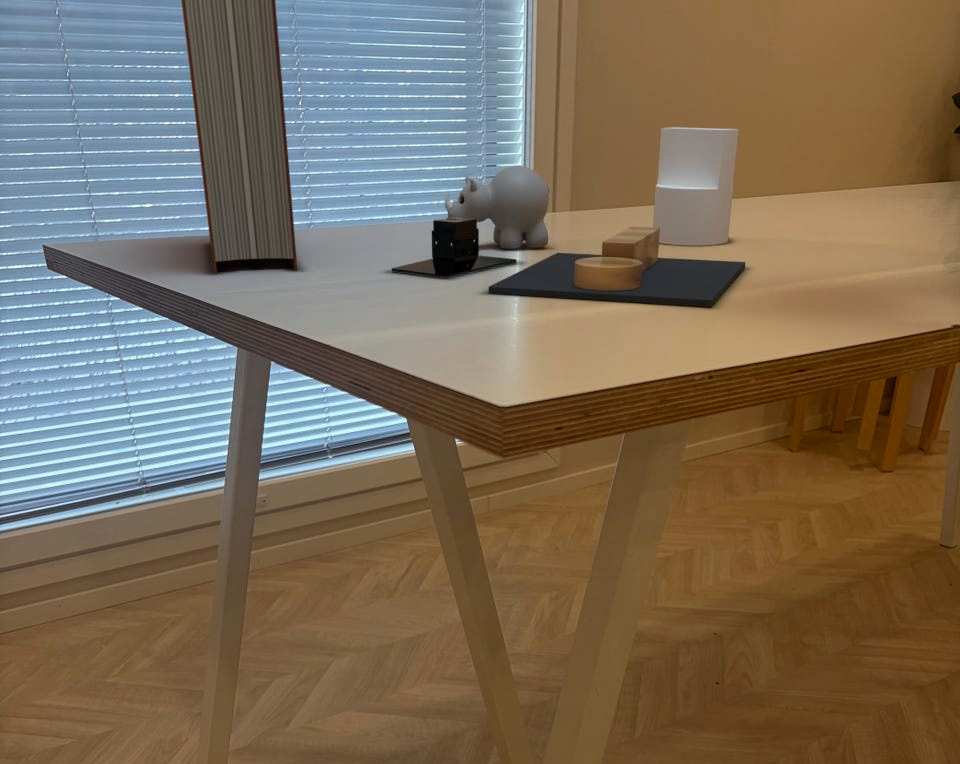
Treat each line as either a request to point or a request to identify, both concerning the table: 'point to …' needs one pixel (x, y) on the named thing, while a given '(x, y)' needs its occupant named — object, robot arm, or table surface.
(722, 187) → the cylinder with rectangular tab
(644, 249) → the wooden disc with bar
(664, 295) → the mat
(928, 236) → the table surface
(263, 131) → the book
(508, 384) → the table surface
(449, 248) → the black block on plate
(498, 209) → the round bodied animal figurine
